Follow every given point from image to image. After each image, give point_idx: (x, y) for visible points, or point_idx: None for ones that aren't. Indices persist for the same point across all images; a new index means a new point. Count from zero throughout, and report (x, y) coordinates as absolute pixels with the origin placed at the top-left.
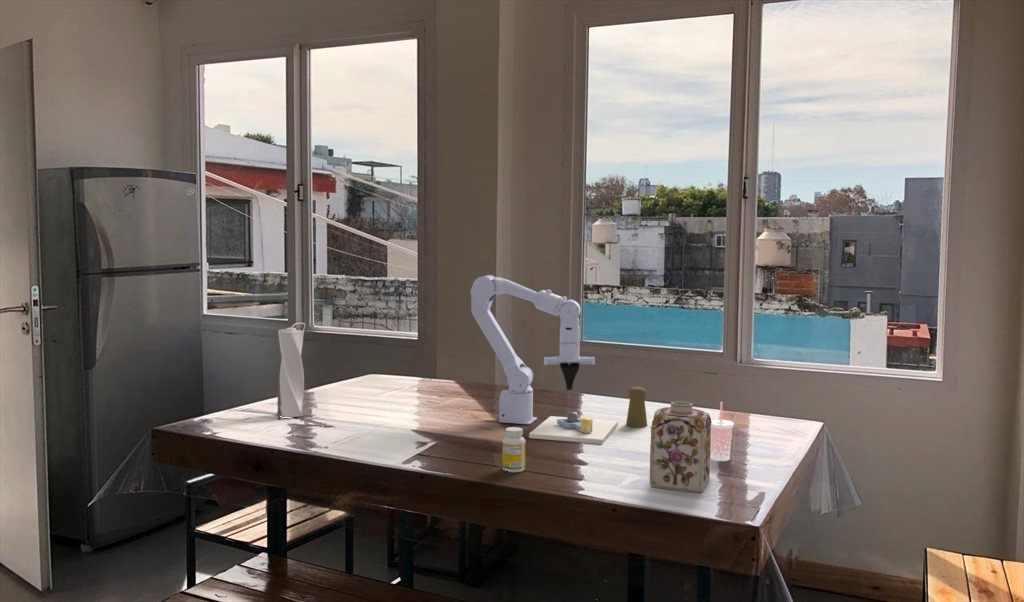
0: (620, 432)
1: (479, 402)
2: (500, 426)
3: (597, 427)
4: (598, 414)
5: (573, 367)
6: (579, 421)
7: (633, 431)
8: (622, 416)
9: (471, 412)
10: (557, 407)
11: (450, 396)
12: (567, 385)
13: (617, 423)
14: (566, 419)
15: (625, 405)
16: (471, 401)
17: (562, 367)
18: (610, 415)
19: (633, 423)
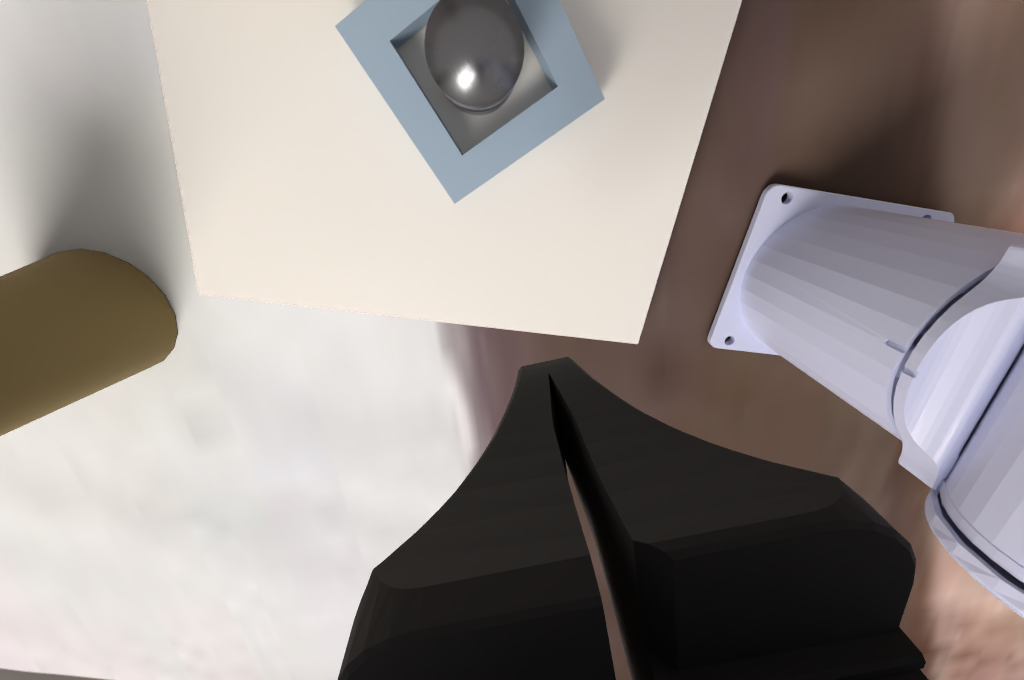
0: (123, 79)
1: (925, 573)
2: (957, 109)
3: (277, 58)
4: (391, 493)
5: (514, 580)
6: (421, 91)
7: (47, 132)
8: (261, 481)
9: None
10: (597, 565)
11: (1014, 625)
12: (578, 373)
13: (200, 269)
14: (529, 108)
15: (310, 643)
16: (954, 580)
17: (879, 524)
18: (327, 487)
19: (80, 262)
